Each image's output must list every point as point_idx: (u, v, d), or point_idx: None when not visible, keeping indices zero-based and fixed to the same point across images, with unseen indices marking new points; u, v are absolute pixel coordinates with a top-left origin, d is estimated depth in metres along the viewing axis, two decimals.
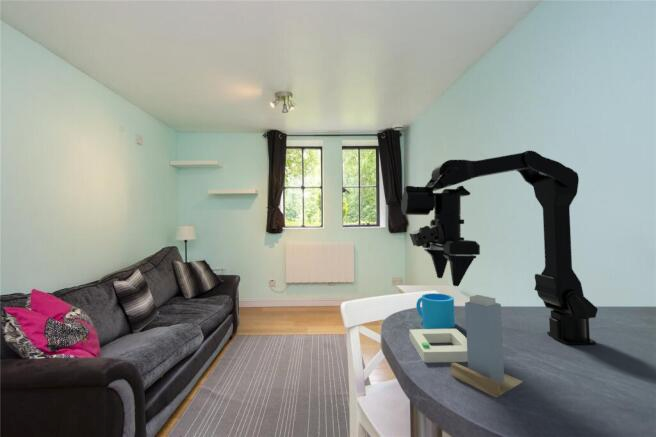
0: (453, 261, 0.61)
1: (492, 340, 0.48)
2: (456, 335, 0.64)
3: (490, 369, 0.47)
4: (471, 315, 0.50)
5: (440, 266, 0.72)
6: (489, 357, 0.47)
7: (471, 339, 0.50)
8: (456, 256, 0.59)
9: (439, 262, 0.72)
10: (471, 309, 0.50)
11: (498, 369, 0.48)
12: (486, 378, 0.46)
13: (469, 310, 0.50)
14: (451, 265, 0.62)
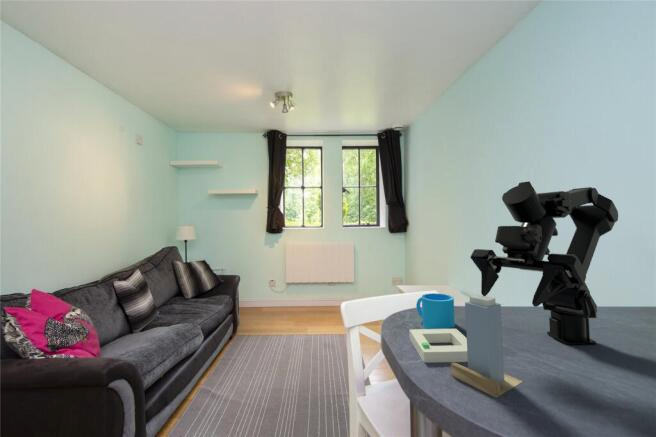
0: (553, 276, 0.50)
1: (492, 340, 0.48)
2: (456, 335, 0.64)
3: (490, 369, 0.47)
4: (471, 315, 0.50)
5: (488, 284, 0.59)
6: (489, 357, 0.47)
7: (471, 339, 0.50)
8: (565, 272, 0.49)
9: (489, 279, 0.60)
10: (471, 309, 0.50)
11: (498, 369, 0.48)
12: (486, 378, 0.46)
13: (469, 310, 0.50)
14: (546, 280, 0.51)
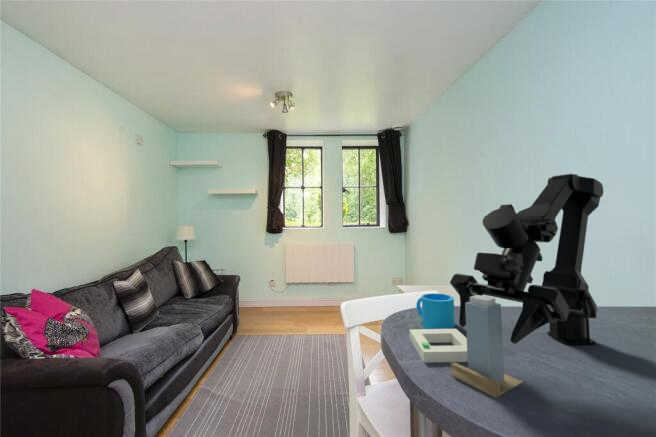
0: None
1: (492, 340, 0.48)
2: (456, 335, 0.64)
3: (490, 369, 0.47)
4: (471, 315, 0.50)
5: None
6: (489, 357, 0.47)
7: (471, 339, 0.50)
8: (546, 307, 0.45)
9: None
10: (471, 309, 0.50)
11: (498, 369, 0.48)
12: (486, 378, 0.46)
13: (469, 310, 0.50)
14: (525, 314, 0.47)
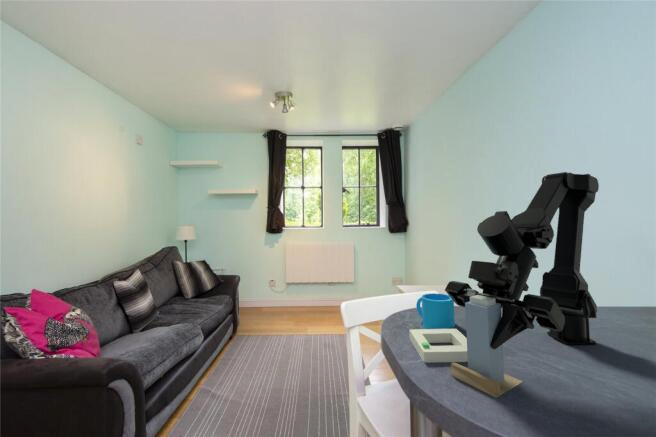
0: (513, 317, 0.47)
1: None
2: (456, 335, 0.64)
3: (490, 369, 0.47)
4: (471, 315, 0.50)
5: None
6: (489, 357, 0.47)
7: (471, 339, 0.50)
8: (524, 313, 0.47)
9: None
10: (471, 309, 0.50)
11: (498, 369, 0.48)
12: (486, 378, 0.46)
13: (469, 310, 0.50)
14: (505, 321, 0.48)
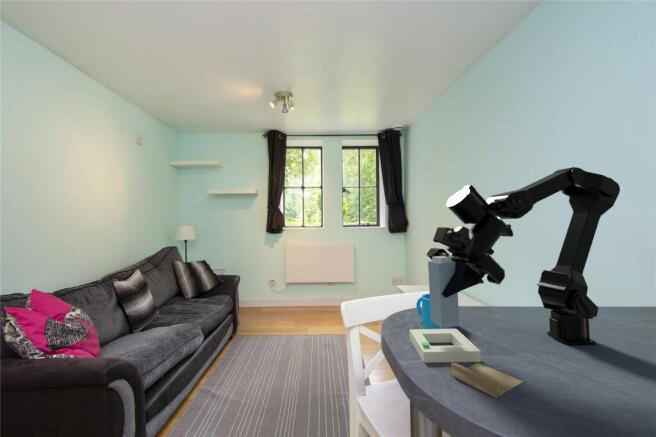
0: (461, 272, 0.57)
1: None
2: (456, 335, 0.64)
3: (441, 313, 0.58)
4: (431, 271, 0.61)
5: None
6: (441, 303, 0.58)
7: (431, 290, 0.61)
8: (470, 268, 0.56)
9: None
10: (431, 265, 0.61)
11: (451, 315, 0.59)
12: (486, 378, 0.46)
13: (430, 267, 0.61)
14: (455, 275, 0.58)
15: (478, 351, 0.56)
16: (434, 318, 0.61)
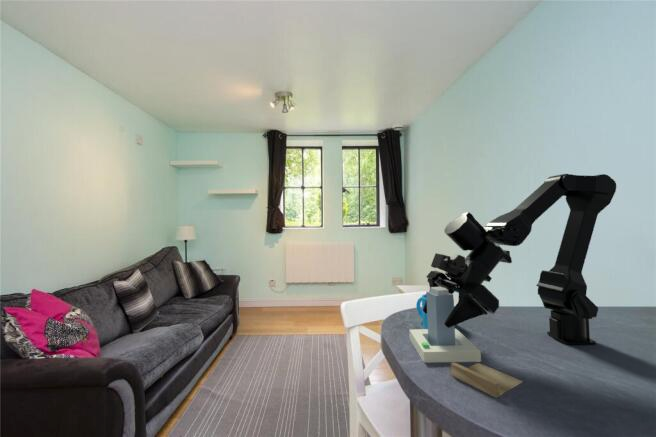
0: (464, 303, 0.56)
1: (441, 322, 0.60)
2: (456, 335, 0.64)
3: (437, 344, 0.60)
4: (429, 301, 0.63)
5: None
6: (437, 334, 0.60)
7: (429, 320, 0.63)
8: (473, 300, 0.55)
9: None
10: (428, 296, 0.63)
11: None
12: (486, 378, 0.46)
13: (428, 297, 0.63)
14: (458, 305, 0.57)
15: (478, 351, 0.56)
16: None
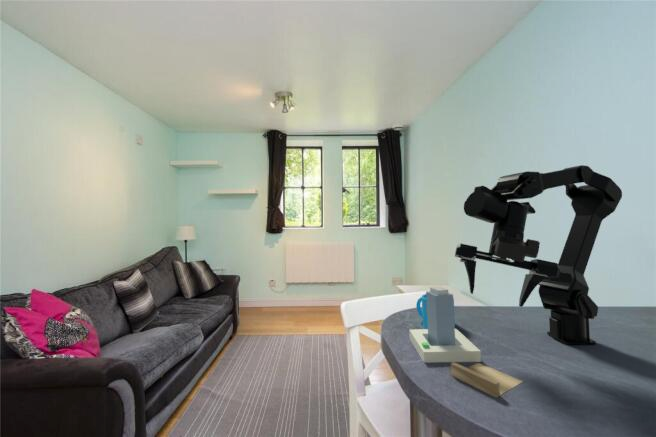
0: None
1: (441, 322, 0.60)
2: (456, 335, 0.64)
3: (437, 344, 0.60)
4: (429, 301, 0.63)
5: None
6: (437, 335, 0.60)
7: (429, 320, 0.63)
8: None
9: None
10: (428, 296, 0.63)
11: None
12: (486, 378, 0.46)
13: (428, 297, 0.63)
14: (532, 285, 0.58)
15: (478, 351, 0.56)
16: None
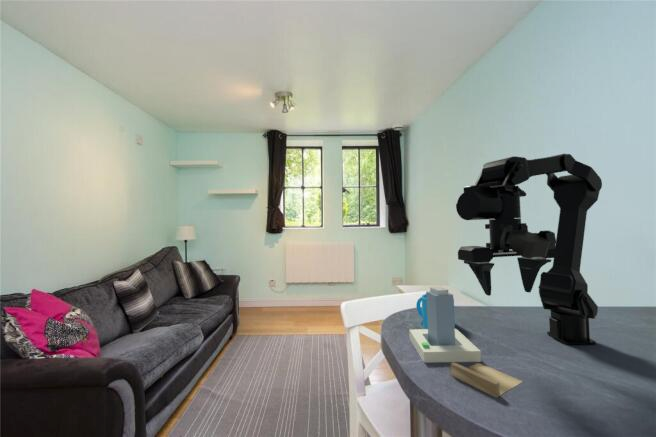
0: None
1: (441, 322, 0.60)
2: (456, 335, 0.64)
3: (437, 344, 0.60)
4: (429, 301, 0.63)
5: None
6: (437, 335, 0.60)
7: (429, 320, 0.63)
8: None
9: None
10: (428, 296, 0.63)
11: None
12: (486, 378, 0.46)
13: (428, 297, 0.63)
14: (536, 270, 0.59)
15: (478, 351, 0.56)
16: None
